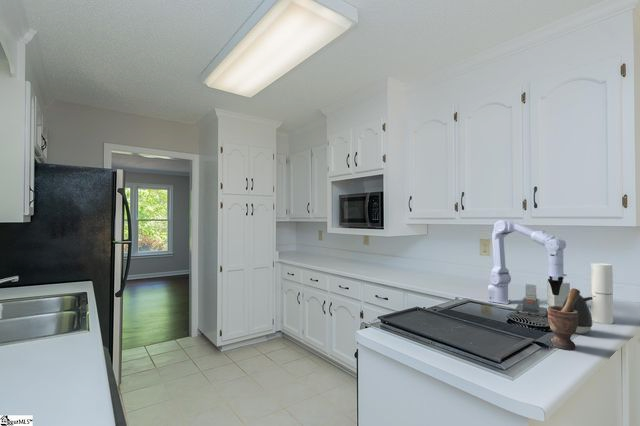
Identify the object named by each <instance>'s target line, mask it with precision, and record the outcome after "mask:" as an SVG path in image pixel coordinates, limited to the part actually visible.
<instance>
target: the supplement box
mask: <svg viewBox="0 0 640 426" xmlns="http://www.w3.org/2000/svg"><path fill="white" fill-rule="evenodd" d="M546 281H547V282H546V287H547V288H546V290H547V292H546V293H547V294H546V295H547V297H546V298H547V299H546V300H547V306H561V307H562V306H563V303H564V301H565V299H566V298H567V296H568V295H569V292H570V290H571V289H570V287H571V286H570V282H568V281H564V280H562V281H563V283H562V284H561V287H560V292H559V295H553V294H552V289H551V285H550V283H549V281H548V279H547V280H546Z"/></svg>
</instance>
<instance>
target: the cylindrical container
mask: <svg viewBox="0 0 640 426" xmlns="http://www.w3.org/2000/svg"><path fill="white" fill-rule="evenodd" d="M613 278H614V276H613V264H612V263H606V262H603V263H601V262H590V292H591V294H590V297H592V298H593V299H592V300H590V305H591V309H590V313H591V317H592V322H595V323H599V324H603V325H605V324H606V325H612V324H614V307H613V306H614V289H613V288H614V287H613V285H614V284H613V283H614V282H613Z"/></svg>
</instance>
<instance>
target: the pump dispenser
mask: <svg viewBox="0 0 640 426" xmlns="http://www.w3.org/2000/svg"><path fill="white" fill-rule="evenodd" d="M567 299H568V296H567V298H566V299H565V301H564V303H563V306H562V307H565V305H566V302H567ZM592 299H593V298H592V297H591V296H587V297H583V296H582V295H581V294H580V295H579V297H578V299H577V300H576V302H575V303H574V305H573V307H572V309H574V310H576V311H577V312H578V325H577V329H576V332H575V333H574V334H577V333H578V335H582V334H583V335H584V334H587V333H589V332H590V330H591V329H592V326H593V321H592V312H591V309H590V307H589V305H588V303H587V302H589V301H591V300H592Z"/></svg>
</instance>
